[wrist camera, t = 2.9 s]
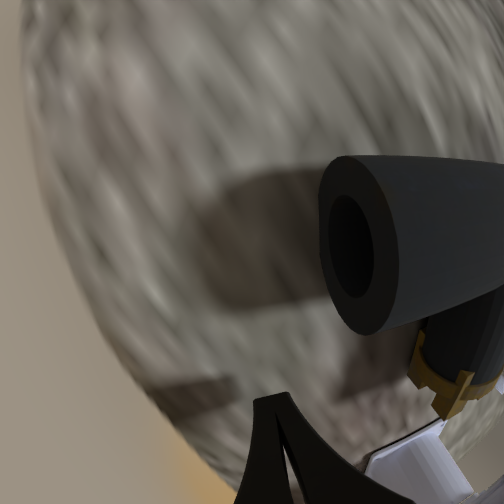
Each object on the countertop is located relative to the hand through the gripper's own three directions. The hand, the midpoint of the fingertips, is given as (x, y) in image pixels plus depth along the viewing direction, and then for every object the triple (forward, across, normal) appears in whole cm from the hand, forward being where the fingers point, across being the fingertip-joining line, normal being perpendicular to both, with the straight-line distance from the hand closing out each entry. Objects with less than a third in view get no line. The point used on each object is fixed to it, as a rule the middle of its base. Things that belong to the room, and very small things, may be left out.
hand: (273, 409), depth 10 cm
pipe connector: (+2, -10, -2) cm, 11 cm away
